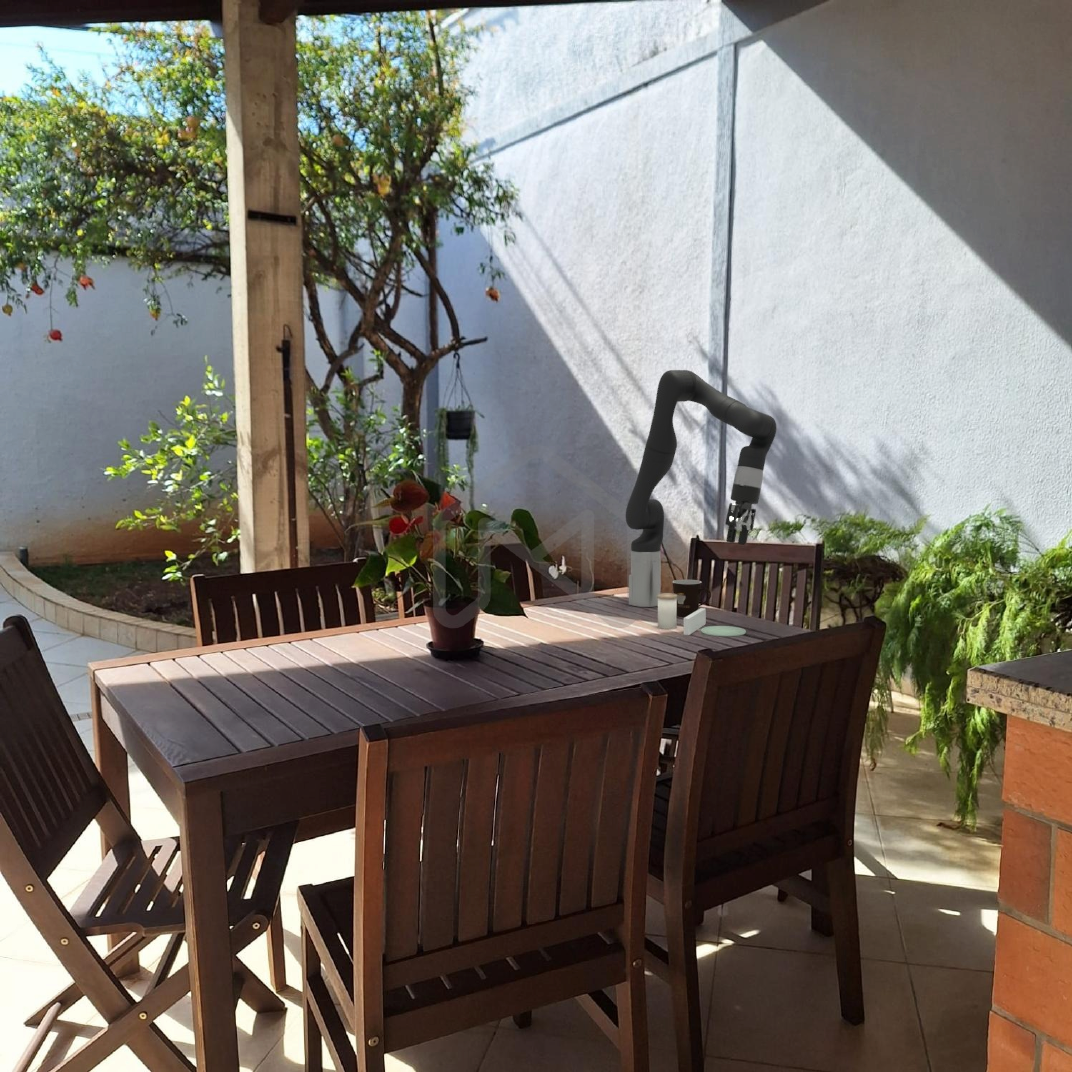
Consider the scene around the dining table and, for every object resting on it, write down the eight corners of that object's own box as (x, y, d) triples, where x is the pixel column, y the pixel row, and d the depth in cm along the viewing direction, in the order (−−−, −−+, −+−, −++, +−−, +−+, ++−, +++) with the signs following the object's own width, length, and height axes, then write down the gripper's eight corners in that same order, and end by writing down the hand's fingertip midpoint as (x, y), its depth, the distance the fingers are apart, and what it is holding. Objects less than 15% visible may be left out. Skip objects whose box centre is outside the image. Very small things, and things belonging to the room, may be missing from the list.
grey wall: (683, 634, 260) (683, 618, 259) (700, 623, 274) (700, 608, 274) (688, 635, 259) (689, 618, 259) (705, 624, 273) (705, 608, 273)
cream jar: (654, 628, 269) (654, 595, 268) (660, 624, 274) (661, 592, 273) (673, 629, 266) (673, 596, 265) (679, 626, 271) (679, 593, 270)
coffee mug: (666, 613, 289) (666, 580, 288) (690, 611, 293) (690, 578, 292) (688, 620, 279) (688, 586, 278) (713, 618, 282) (713, 584, 281)
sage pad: (695, 634, 260) (695, 632, 260) (707, 625, 271) (707, 624, 271) (739, 638, 255) (739, 636, 255) (750, 629, 266) (750, 627, 266)
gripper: (743, 486, 270) (732, 543, 271) (724, 479, 258) (713, 539, 259) (769, 490, 266) (758, 547, 267) (750, 483, 254) (739, 544, 255)
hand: (736, 543), depth 263 cm, fingers open, 8 cm apart
